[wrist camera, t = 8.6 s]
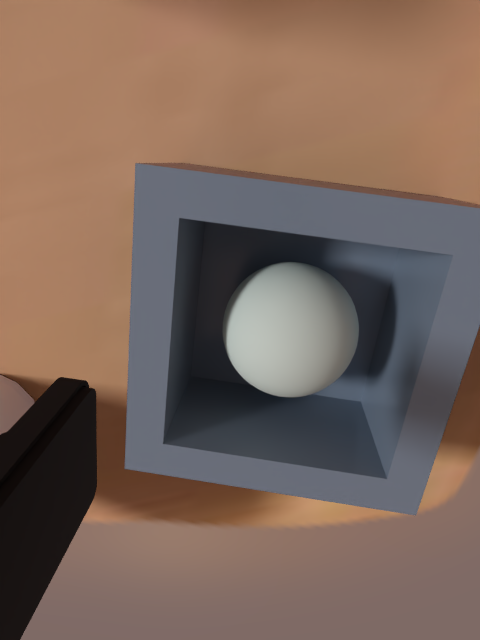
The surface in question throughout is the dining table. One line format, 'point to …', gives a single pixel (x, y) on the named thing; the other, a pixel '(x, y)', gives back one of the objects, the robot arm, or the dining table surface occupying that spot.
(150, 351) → the blue-grey open box
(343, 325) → the ball
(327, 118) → the dining table surface
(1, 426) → the foam cup
